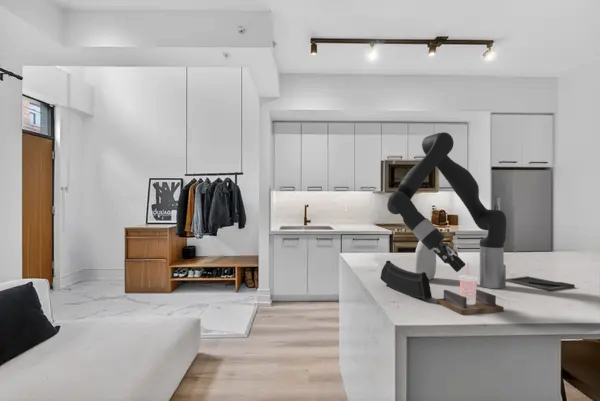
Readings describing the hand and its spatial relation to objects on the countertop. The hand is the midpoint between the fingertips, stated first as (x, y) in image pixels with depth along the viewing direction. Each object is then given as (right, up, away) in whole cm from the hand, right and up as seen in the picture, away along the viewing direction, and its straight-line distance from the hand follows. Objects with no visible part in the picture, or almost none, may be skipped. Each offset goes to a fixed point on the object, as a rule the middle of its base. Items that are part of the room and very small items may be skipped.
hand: (461, 268), depth 130 cm
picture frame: (+49, -14, +34) cm, 61 cm away
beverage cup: (+2, -12, -1) cm, 12 cm away
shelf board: (+2, -13, -1) cm, 14 cm away
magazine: (-15, -14, +20) cm, 28 cm away
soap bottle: (+3, -13, +43) cm, 45 cm away
